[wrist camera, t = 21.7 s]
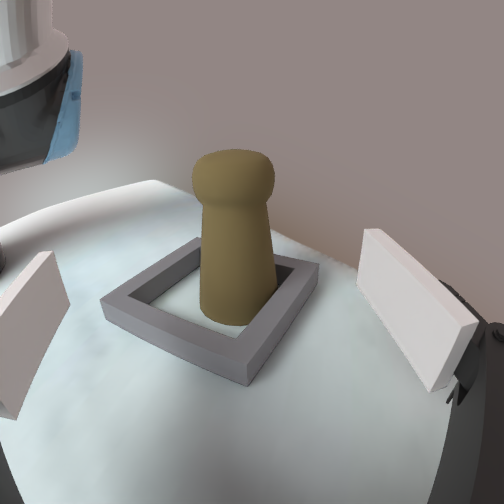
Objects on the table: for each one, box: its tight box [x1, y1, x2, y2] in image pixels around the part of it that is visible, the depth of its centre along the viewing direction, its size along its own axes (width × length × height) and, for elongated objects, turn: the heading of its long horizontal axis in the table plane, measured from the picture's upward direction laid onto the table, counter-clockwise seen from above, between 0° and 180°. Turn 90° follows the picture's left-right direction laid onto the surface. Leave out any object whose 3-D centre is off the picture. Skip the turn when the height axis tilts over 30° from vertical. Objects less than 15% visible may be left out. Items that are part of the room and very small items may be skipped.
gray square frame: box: [100, 237, 319, 387], centre depth 23 cm, size 12×12×2 cm
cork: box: [192, 149, 278, 326], centre depth 21 cm, size 6×6×11 cm
